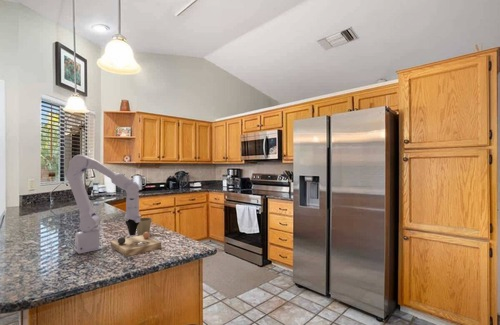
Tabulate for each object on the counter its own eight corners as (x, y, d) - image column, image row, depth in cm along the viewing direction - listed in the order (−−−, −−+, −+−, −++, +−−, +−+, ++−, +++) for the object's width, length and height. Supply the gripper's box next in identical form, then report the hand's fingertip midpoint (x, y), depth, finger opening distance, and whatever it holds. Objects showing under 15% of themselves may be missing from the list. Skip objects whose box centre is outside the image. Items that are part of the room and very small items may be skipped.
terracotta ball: (144, 239, 126) (144, 233, 126) (141, 238, 128) (141, 232, 128) (150, 238, 128) (150, 231, 128) (148, 237, 130) (148, 230, 130)
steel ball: (139, 246, 116) (137, 241, 118) (136, 251, 117) (134, 246, 119) (146, 245, 119) (143, 240, 120) (143, 250, 120) (141, 245, 121)
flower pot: (140, 237, 138) (139, 221, 138) (131, 235, 144) (131, 219, 144) (155, 234, 146) (155, 218, 146) (146, 231, 151) (146, 216, 152)
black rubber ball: (119, 245, 116) (119, 238, 117) (116, 244, 119) (116, 237, 119) (126, 244, 119) (126, 237, 119) (124, 242, 121) (124, 235, 121)
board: (125, 256, 110) (125, 250, 110) (110, 246, 124) (110, 241, 124) (161, 247, 121) (161, 242, 121) (143, 239, 135) (143, 234, 135)
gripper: (146, 208, 123) (146, 236, 123) (135, 204, 133) (135, 231, 133) (131, 209, 118) (131, 239, 118) (120, 206, 128) (120, 233, 128)
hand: (132, 235), depth 125 cm, fingers closed
